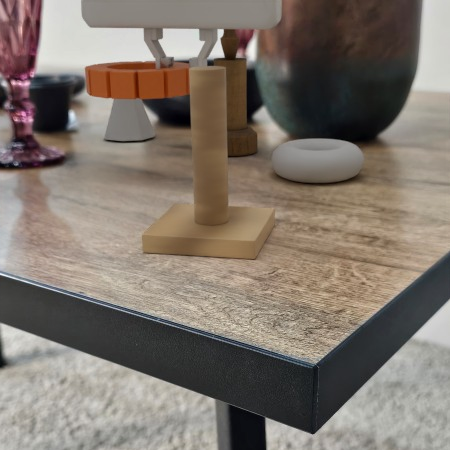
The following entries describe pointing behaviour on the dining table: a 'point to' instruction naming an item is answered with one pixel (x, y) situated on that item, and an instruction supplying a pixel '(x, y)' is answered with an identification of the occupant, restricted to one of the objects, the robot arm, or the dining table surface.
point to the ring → (137, 80)
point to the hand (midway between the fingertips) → (182, 75)
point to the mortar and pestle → (236, 98)
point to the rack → (209, 187)
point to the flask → (128, 121)
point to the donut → (317, 160)
